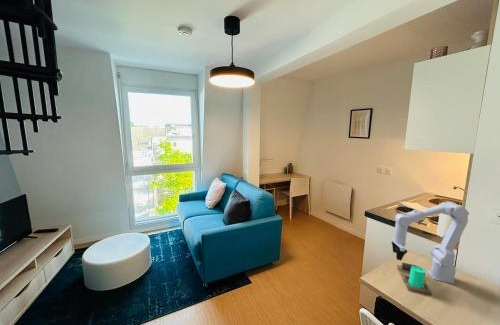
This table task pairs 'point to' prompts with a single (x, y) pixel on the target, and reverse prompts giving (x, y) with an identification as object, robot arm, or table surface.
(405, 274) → the brown compartment tray
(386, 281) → the table surface
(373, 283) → the table surface
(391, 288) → the table surface
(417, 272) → the candle
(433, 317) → the table surface
